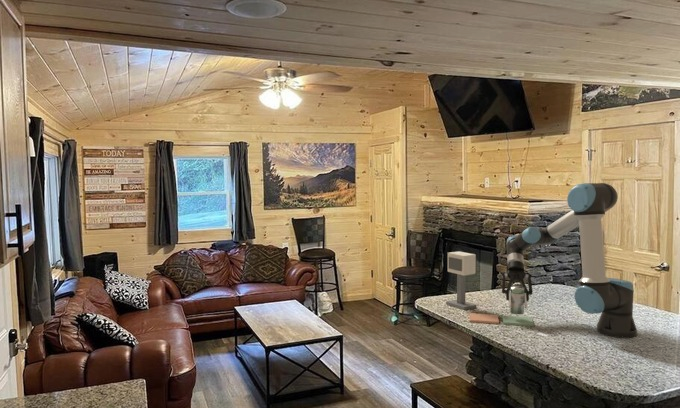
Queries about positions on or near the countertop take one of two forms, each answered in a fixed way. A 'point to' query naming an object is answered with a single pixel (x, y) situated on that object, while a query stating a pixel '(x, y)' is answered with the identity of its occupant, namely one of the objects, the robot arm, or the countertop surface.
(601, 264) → the robot arm
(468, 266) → the mounted unit
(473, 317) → the terracotta tile
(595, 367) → the countertop surface
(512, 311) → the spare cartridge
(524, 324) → the green tile
